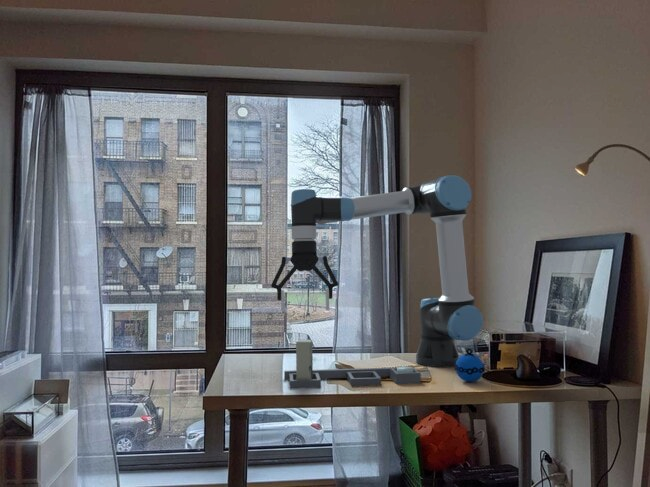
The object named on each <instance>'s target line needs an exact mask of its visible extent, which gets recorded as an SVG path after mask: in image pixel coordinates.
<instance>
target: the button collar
mask: <svg viewBox="0 0 650 487" xmlns="http://www.w3.org/2000/svg"><path fill="white" fill-rule="evenodd" d="M389 368H390V377H389V378H390V379H391V380H392V382H394V383H395V384H396V385H399V384H401V385H406V384H422V377H421V376H422V375H421V374H422V373H421V372H420V371H419V370H418V369H417V368H415V367H414V366H413V367H412V368H413V373H398V372H397V367H389Z"/></svg>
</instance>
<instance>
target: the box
mask: <svg viewBox="0 0 650 487" xmlns="http://www.w3.org/2000/svg"><path fill="white" fill-rule="evenodd" d="M295 347H296V348H295V355H296V356H295V358H296V360H295V361H296V362H295V367H296V380H309V379H313V370H314V368H313V367H314V366H313V339H298V340H297V341H296V343H295Z"/></svg>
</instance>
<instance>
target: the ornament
mask: <svg viewBox="0 0 650 487" xmlns="http://www.w3.org/2000/svg"><path fill="white" fill-rule="evenodd" d="M469 351H470V352H469ZM454 370H455V372H456V374H457V376H458V377H459V379H461V380H462V381H464V382H467V383H474V382H477V381H479V380H480V379H481V378H482V376H483V374H484V373H485V364H484V363H483V361H482V360H481V358H480V357H478V356H477V355H476V354H474V353H473V350H472V349H471V348H467V349H466V353H464V354H462V355H460V356H459V358H458V360H457V361H456V364H455V366H454Z"/></svg>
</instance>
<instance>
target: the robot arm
mask: <svg viewBox="0 0 650 487" xmlns="http://www.w3.org/2000/svg"><path fill="white" fill-rule="evenodd" d="M290 196H291V197H290V198H291V199H290V207H291V208H290V209H291V216H290V217H291V239H292V240H293V241H292V242H291V256H290V257H287V256H282V257H281V264H280V266H279V267H278V270H277V272H276V274H275V276H274V278H273V280H272V283H271V285H270V286H271V288H274V289H276V291H277V294H276V295H277V296H276V298H277V301H281V305H280V306H281V310H280V311H281V312H285V290H284V288H283V287H284V286H285V285H286V283H287V282H288V281H289V279H290V278H291V277H292V276H293V274H295V272H296V271H298V272H304V271H306V272H310V271H314V273H315V274H316V275H317V276H318V277H319V278H320V279H321V281H322V282H323V283H324V284H325V285H326V286H327V287H325V310H326V311H330V300H332V299H333V296H334V295H333V294H334V293H333V288H335V287H337V286H339V282H338V280H337V279H336V276H335V274H334V272H333V271H332V268H331V266H330V264H329V263H328V256H326V255H323V256H318V253H317V251H318V250H317V249H318V247H317V246H318V245H317V241H316V239H317V225H325V224H332V223H338V222H350V221H352V220H357V219H358V220H359V219H365V218H374V217H381V216H388V215H396V214H402V213H405V215H407V216H408V215H416V214H418V215H420V214H422V215H423V214H425V215H426V214H428V215H429V216H430V220H431V221H433V222H434V223H435V230H436V239H437V243H436V244H437V250H438V262H439V263H438V264H439V272H440V273H439V274H440V285H441V286H440V287H441V296H439V297H433V298H432V297H431V298H423V299H421V301H420V308H419V311H420V312H419V314H420V315H419V316H420V318H419V319H420V342H419V345H418V348H417V351H416V354H415V362H416V363H417V364H420V365H423V366H428V367H437V368H439V367H441V368H443V367H444V368H445V367H455V364H456V361H457V360H458V358H459V357H460V356H459V352H458V349H457V347H456V343H455V341H462V342H463V341H465V342H466V341H471V340H473V339H474V338H476V337H477V336H478V334H479V333H480V332H481V330H482V328H483V322H484V318H483V314H482V312H481V311H480V310H479V309H478V308H477V307H476V306H475V297H474V295H471V294H470V292H469V291H470V290H469V284H468V283H469V281H468V271H467V268H468V267H467V260H466V259H467V258H466V249H465V248H466V247H465V236H464V229H463V228H464V225H463V221H464V219H465V217H466V216H467V207H468V206H469V203H470V202H471V200H472V190H471V187H470V185H469V183H468V182H467V181H466V180H465V179H464V178H463V177H461V176H459V175H455V174H453V175H452V174H451V175H449V174H448V175H443V176H440V177H438V178H434V179H432V180H428V181H426V182H423V183H421V184H418V185H414V186H408V187H404V188H403V189H402V190H401V191H400V190H399V191H393V192H385V193H384V192H383V193H377V194H376V193H375V194H370V195H361V196H355V197H353V196H352V197H350V196H349V197H348V196H347V197H346V196H318V195H317V194H316V190H315V189H312V188H311V189H310V188H299V189H294V190H292V192H291V195H290ZM289 262H290V263H292V265H293V266H292V267H291V268H290V270H289V271H288V272H287V274H286V275H285V276H284V278H283V279H282V280H281V281H280V282H279V283H278V281H279V279H280V277H281V276H282V273H283V271H284V269H285V266H286V265H288V264H289ZM318 262H320V264H323V267H324V268H325V270H326V272H327V274H328V277H329V278H330V280H331V282H330V281H329V280H328V278H327V277H326V276H325V275H324V273H322V272H321V270H319V268H318V267H317V266H316V265H317V263H318Z"/></svg>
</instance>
